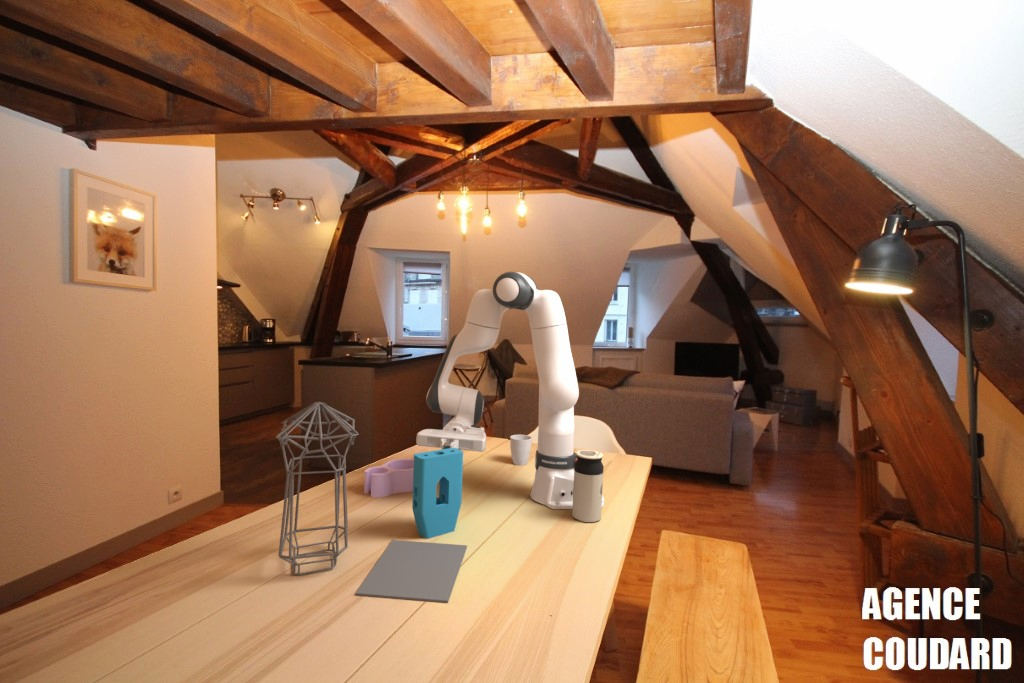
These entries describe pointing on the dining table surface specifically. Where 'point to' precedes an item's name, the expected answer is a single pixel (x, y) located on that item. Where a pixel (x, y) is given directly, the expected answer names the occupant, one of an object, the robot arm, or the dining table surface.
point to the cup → (520, 448)
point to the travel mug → (588, 486)
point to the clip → (389, 478)
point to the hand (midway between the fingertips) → (446, 447)
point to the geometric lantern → (299, 419)
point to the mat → (415, 571)
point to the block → (428, 509)
